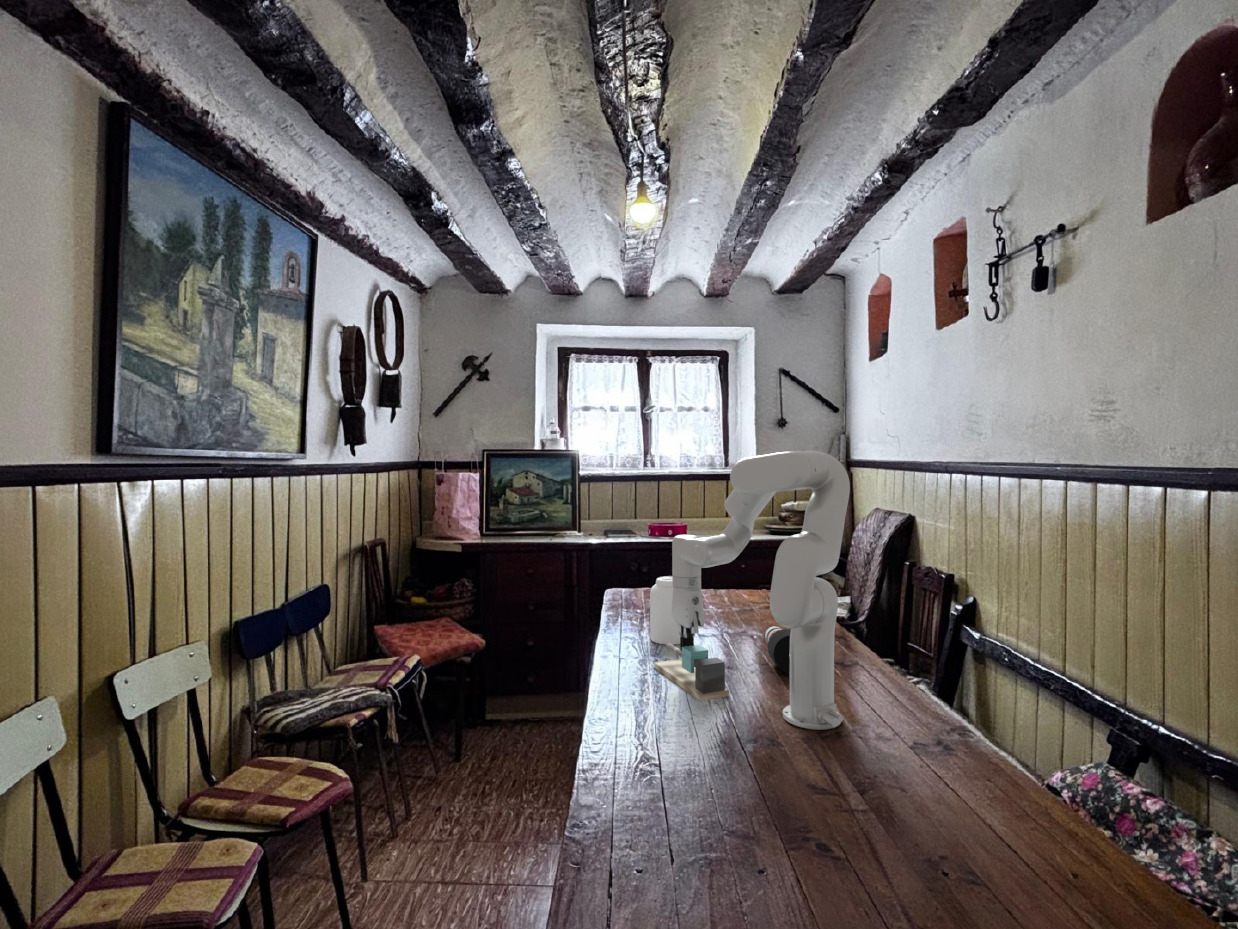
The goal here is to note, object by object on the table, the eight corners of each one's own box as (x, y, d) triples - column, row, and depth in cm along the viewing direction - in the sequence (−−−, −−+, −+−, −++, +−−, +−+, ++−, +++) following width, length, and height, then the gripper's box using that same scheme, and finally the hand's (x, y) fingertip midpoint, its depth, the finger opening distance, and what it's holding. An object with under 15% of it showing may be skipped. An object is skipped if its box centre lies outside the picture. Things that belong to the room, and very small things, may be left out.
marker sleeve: (708, 670, 165) (708, 650, 165) (690, 673, 163) (690, 652, 163) (698, 664, 170) (698, 644, 170) (681, 667, 168) (681, 647, 168)
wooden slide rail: (728, 696, 159) (728, 661, 159) (699, 700, 156) (699, 665, 156) (680, 664, 183) (679, 634, 183) (654, 668, 180) (654, 637, 180)
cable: (779, 655, 206) (793, 626, 206) (801, 681, 172) (818, 646, 173) (750, 640, 207) (764, 611, 208) (766, 662, 173) (783, 628, 174)
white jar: (646, 644, 203) (646, 580, 203) (654, 633, 215) (653, 573, 215) (686, 647, 200) (686, 582, 200) (691, 636, 212) (691, 575, 212)
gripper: (713, 586, 165) (713, 658, 165) (686, 576, 179) (686, 642, 179) (687, 588, 162) (687, 661, 162) (661, 578, 176) (662, 645, 176)
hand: (687, 651), depth 171 cm, fingers closed
